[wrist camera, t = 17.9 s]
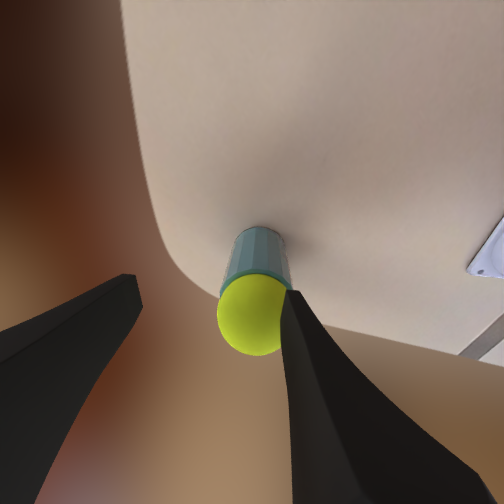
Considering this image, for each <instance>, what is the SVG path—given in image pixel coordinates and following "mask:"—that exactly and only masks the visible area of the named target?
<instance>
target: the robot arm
mask: <svg viewBox="0 0 504 504" xmlns="http://www.w3.org/2000/svg"><path fill="white" fill-rule="evenodd" d="M466 271H467V273H468V274H470V275H474V276H485V277H495V278H504V217H503V218H502V220H501V221H500V223H499V224H498V226H497V227H496V228H495V230H494V231H493V233H492V234H491V236H490V237H489V238H488V240H487V241H486V243H485V244H484V246H483V247H482V248H481V250H480V251H479V253H478V254H477V255H476V257H475V258H474V260H473V261H472V263H471V264H470V265H469V267H468V268H467V270H466ZM142 308H143V305H142V301H141V296H140V292H139V288H138V284H137V280H136V276H135V275H131V274H121V275H119V276H117V277H115V278H112V279H111V280H108V281H106V282H104V283H103V284H101V285H99V286H97V287H95V288H93V289H91V290H89V291H87V292H85V293H83V294H81V295H79V296H77V297H75V298H73V299H71V300H70V301H68V302H65V303H63V304H61V305H59V306H57V307H55V308H53V309H51V310H49V311H47V312H45V313H43V314H41V315H38V316H36V317H34V318H32V319H29V320H27V321H25V322H23V323H20V324H18V325H16V326H13V327H11V328H8V329H6V330H3V331H1V332H0V504H34V503H35V500H36V498H37V495H38V494H39V491H40V489H41V487H42V485H43V483H44V481H45V479H46V476H47V474H48V472H49V470H50V468H51V466H52V463H53V462H54V460H55V458H56V456H57V454H58V451H59V450H60V448H61V445H62V444H63V442H64V440H65V438H66V436H67V434H68V432H69V430H70V428H71V426H72V424H73V422H74V420H75V419H76V417H77V415H78V413H79V411H80V409H81V407H82V406H83V404H84V402H85V400H86V398H87V397H88V395H89V393H90V391H91V390H92V388H93V386H94V384H95V382H96V381H97V379H98V378H99V376H100V375H101V373H102V371H103V370H104V369H105V367H106V366H107V364H108V363H109V361H110V360H111V358H112V357H113V356H114V354H115V353H116V351H117V350H118V348H119V347H120V345H121V344H122V342H123V341H124V339H125V338H126V337H127V335H128V334H129V332H130V331H131V329H132V327H133V326H134V324H135V322H136V320H137V318H138V316H139V314H140V312H141V310H142ZM280 341H281V348H282V356H283V363H284V370H285V378H286V385H287V392H288V402H289V418H290V419H289V420H290V439H291V464H292V492H293V493H292V494H293V504H497V502H496V501H495V499H494V497H493V496H492V494H491V493H490V491H489V490H488V488H487V487H486V485H485V483H484V482H483V481H482V479H481V478H480V476H479V475H478V473H476V472H475V471H474V470H473V469H471V468H470V467H469V466H468V465H466V464H465V463H464V462H462V461H461V460H460V459H459V458H458V457H456V456H455V455H454V454H452V453H451V452H450V451H449V450H448V449H446V448H445V447H444V446H443V445H442V444H440V443H439V442H438V441H437V440H435V439H434V438H433V437H431V436H430V435H429V434H428V433H427V432H426V431H424V430H423V429H422V428H421V427H420V426H419V425H417V424H416V423H415V422H414V421H413V420H412V419H411V418H409V417H408V416H407V415H406V414H405V413H404V412H403V411H401V410H400V409H399V408H398V407H397V406H396V405H395V404H394V403H393V402H392V401H390V400H389V399H388V398H387V397H386V396H385V395H384V394H383V393H382V392H381V391H380V390H379V389H378V388H377V387H376V386H375V385H374V384H373V383H372V382H371V381H370V380H369V379H367V377H366V376H365V375H364V374H363V373H362V372H361V371H360V370H359V369H358V368H357V367H356V366H355V365H354V364H353V362H352V361H351V360H350V359H349V358H348V357H347V356H346V355H345V354H344V352H342V350H341V349H340V347H339V346H338V345H337V344H336V343H335V342H334V340H333V339H332V338H331V336H330V335H329V334H328V332H327V331H326V330H325V328H324V327H323V326H322V324H321V323H320V321H319V320H318V319H317V317H316V316H315V314H314V313H313V311H312V310H311V308H310V307H309V305H308V304H307V302H306V300H305V299H304V297H303V296H302V294H301V292H300V291H298V290H287V289H286V292H285V297H284V302H283V307H282V312H281V317H280Z"/></svg>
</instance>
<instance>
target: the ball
mask: <svg viewBox="0 0 504 504" xmlns="http://www.w3.org/2000/svg"><path fill="white" fill-rule="evenodd" d="M286 289H287V288H286V287H285V286H284V285H283V284H282V283H281V282H279V281H278V280H277V279H275V278H273V277H271V276H268V275H264V274H248V275H245V276H242V277H240V278H238V279H236V280H234V281H233V282H232V283H231V284H230V285H229V286H228V287H227V288H226V289H225V291H224V292H223V294H222V296H221V298H220V301H219V304H218V309H217V319H218V325H219V328H220V331H221V333H222V335H223V337H224V338H225V340H226V341H227V342H228V343H229V344H230V345H231V346H232V347H233V348H235V349H237V350H238V351H240V352H242V353H244V354H248V355H257V356H259V355H266V354H269V353H271V352H274V351H276V350H277V349H279V348H280V347H281V341H280V317H281V312H282V307H283V302H284V297H285V292H286Z"/></svg>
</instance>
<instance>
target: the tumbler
mask: <svg viewBox="0 0 504 504" xmlns="http://www.w3.org/2000/svg"><path fill="white" fill-rule="evenodd" d="M248 274H264V275H268V276H271V277H273V278H275V279H277V280H278V281H279V282H281V283H282V284H283V285H284V286H285V287H286V288H287V290H294V288H293V283H292V278H291V272H290V267H289V262H288V257H287V252H286V248H285V244H284V242H283V240H282V238H281V237H280V236H279V235H278V234H277V233H276V232H274V231H272V230H270V229H267V228H263V227H255V228H250V229H248V230H246V231H244V232H242V233H241V234H240V235H239V236H238V237H237V239H236V240H235V242H234V245H233V247H232V250H231V254H230V257H229V261H228V264H227V268H226V271H225V275H224V278H223V282H222V285H221V289H220V298H221V296H222V294H223V292H224V291H225V289H226V288H227V287H228V286H229V285H230V284H231V283H232V282H233V281H234V280H236V279H238V278H240V277H242V276H245V275H248Z"/></svg>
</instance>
